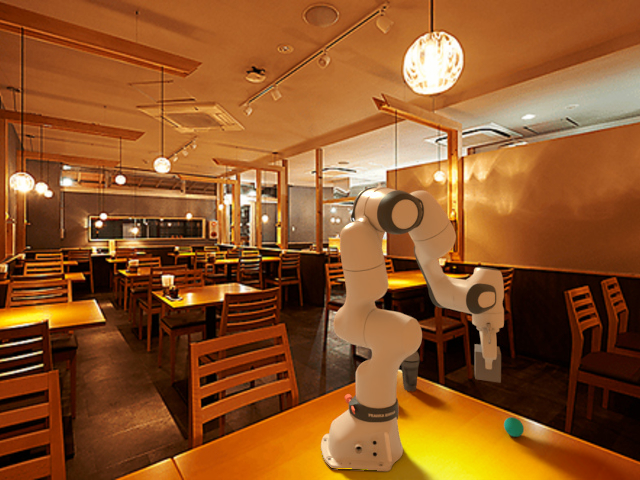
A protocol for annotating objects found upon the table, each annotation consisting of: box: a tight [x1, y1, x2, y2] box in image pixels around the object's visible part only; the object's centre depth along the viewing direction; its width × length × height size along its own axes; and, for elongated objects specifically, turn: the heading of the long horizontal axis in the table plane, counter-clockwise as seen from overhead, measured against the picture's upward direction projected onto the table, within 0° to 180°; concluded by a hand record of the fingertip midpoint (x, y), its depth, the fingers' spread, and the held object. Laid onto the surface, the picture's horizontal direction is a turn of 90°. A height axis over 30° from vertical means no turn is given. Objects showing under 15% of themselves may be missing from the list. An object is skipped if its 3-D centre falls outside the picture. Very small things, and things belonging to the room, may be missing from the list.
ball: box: [503, 416, 524, 438], centre depth 101 cm, size 5×5×5 cm
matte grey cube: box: [474, 343, 502, 384], centre depth 108 cm, size 7×7×9 cm
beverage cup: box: [400, 350, 421, 392], centre depth 130 cm, size 7×7×20 cm
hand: (487, 363), depth 108 cm, fingers closed on matte grey cube, 7 cm apart
